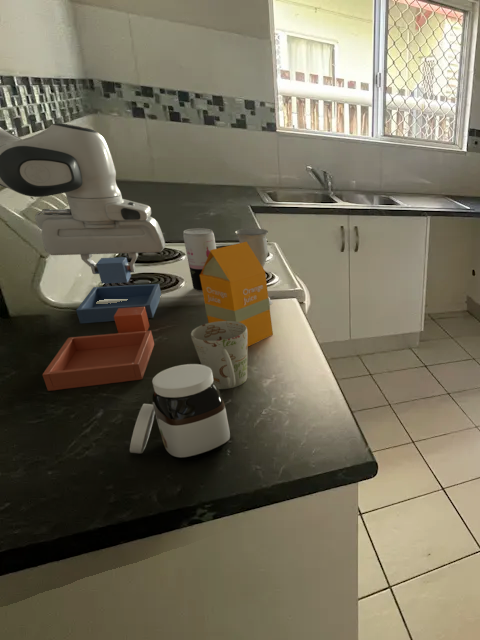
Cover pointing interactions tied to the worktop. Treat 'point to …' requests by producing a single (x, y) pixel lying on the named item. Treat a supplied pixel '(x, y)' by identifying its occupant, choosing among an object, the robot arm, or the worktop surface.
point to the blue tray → (105, 312)
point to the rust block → (131, 319)
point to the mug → (223, 351)
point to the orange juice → (237, 290)
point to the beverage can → (198, 251)
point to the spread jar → (184, 413)
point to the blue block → (113, 270)
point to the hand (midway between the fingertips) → (115, 272)
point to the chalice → (255, 243)
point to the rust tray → (100, 360)
